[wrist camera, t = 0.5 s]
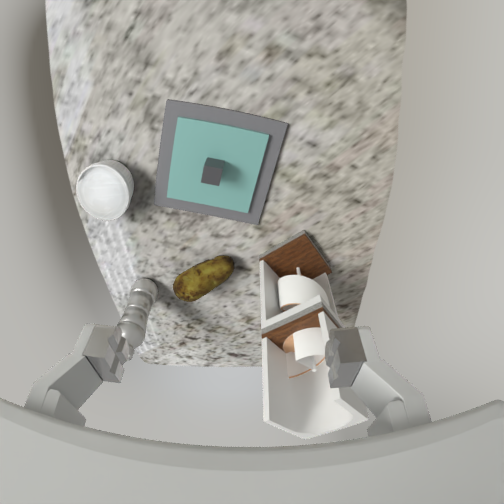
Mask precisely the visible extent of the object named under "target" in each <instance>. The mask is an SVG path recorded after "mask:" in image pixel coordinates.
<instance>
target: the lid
mask: <svg viewBox="0 0 504 504" xmlns="http://www.w3.org/2000/svg"><path fill="white" fill-rule="evenodd" d="M268 138H269V134H267V133H263V132H258V131H254V130H250V129H245V128H240V127H236V126H231V125H226V124H221V123H216V122H210V121H205V120H199V119H193V118H187V117H181V116H179V117H178V119H177V126H176V132H175V138H174V145H173V152H172V159H171V166H170V174H169V182H168V191H167V198H173V199H178V200H184V201H189V202H194V203H199V204H205V205H210V206H215V207H220V208H225V209H230V210H235V211H240V212H244V213H248V211H249V207H250V203H251V199H252V196H253V192H254V188H255V185H256V181H257V178H258V174H259V170H260V167H261V163H262V159H263V156H264V152H265V149H266V145H267V141H268Z"/></svg>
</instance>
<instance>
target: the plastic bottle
mask: <svg viewBox="0 0 504 504" xmlns="http://www.w3.org/2000/svg"><path fill="white" fill-rule="evenodd" d="M157 297H158V288H157V286H156V284H155V283H154V282H153V281H152V280H150V279H146V278H141V279H139V280H136V281H135V282H134V284H133V285H132V287H131V290H130V297H129V300H128V304H127V307H126V309H125V311H124V314H123V316H122V318H121V319H120V321H119V323H118V324H117V326H116V327H120V328H121V330H122V332H123V333H122V337H124V338H125V339H126V340H127V342H128V346H129V355H128V359H127V361H128V360H131V359H132V356H133V354H134V349H135V348H137V347H138V346H140V345H141V344H142V343H143V341H144V339H145V333H146V325H147V320H148V316H149V313H150V311H151V308H152V306H153V305H154V303H155V301H156V299H157Z"/></svg>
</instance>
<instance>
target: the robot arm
mask: <svg viewBox="0 0 504 504" xmlns="http://www.w3.org/2000/svg"><path fill="white" fill-rule="evenodd" d="M122 333H123V332H122V330H121V328H120V327H116V326H107V325H99V324H90V323H87V324H86V325H84V327H83V329H82V331H81V334H80V336H79V338H78V341H77V343H76V345H75V348H74V350H73V352H72V354H68V355H67V356H65V357H64V358H63V359H62V360H61V361H59V362H58V363H57V364H56V365H54V366H53V367H52V368H51V369H50V370H49V371H47V372H46V373H45V374H44V375H42V376H41V377H40V378H39V379H38V380H36V381H35V382H34V383H33V385H32V388H31V390H30V393H29V395H28V398H27V401H26V404H25V406H24V407H22V406H19V405H17V404H14V403H12V402H9V401H7V400H4V399H2V398H0V504H504V402H503V401H501V400H494V401H491V402H489V403H486V404H484V405H481V406H479V407H476V408H473V409H471V410H468V411H465V412H463V413H459V414H456V415H453V416H451V417H448V418H444V419H441V420H437V421H434V422H432V421H431V418H430V414H429V411H428V408H427V404H426V401H425V398H424V395H423V394H422V393H421V392H420V391H419V390H418V389H417V388H416V387H414V386H413V385H412V384H411V383H410V382H409V381H408V380H407V379H405V378H404V377H403V376H402V375H401V374H400V373H398V372H397V371H396V370H395V369H394V368H393V367H392V366H391V365H389V364H388V363H387V362H386V361H385V360H380V357H379V354H378V350H377V347H376V344H375V341H374V338H373V335H372V332H371V329H370V327H368V326H363V327H347V328H335V329H331V330H330V332H329V339H330V340H328V341H327V342H326V346H325V361H326V365H327V366H328V367H329V368H330V369H329V372H328V378H329V383H330V388H342V387H351V389H352V390H353V391H354V392H355V393H356V394H357V396H358V397H359V398H360V399H361V400H362V401H363V403H364V404H365V405H366V406H367V407H368V408H369V410H370V411H371V412H372V413H373V414H374V415H375V416H376V419H375V421H374V422H373V423H372V424H371V426H370V427H369V428H368V429H367V432H368V437H365V438H359V439H353V440H346V441H338V442H330V443H321V444H311V445H299V446H281V447H219V446H202V445H201V446H200V445H190V444H179V443H170V442H162V441H154V440H148V439H141V438H135V437H130V436H125V435H120V434H115V433H110V432H105V431H101V430H96V429H92V428H88V427H84V426H85V422H86V419H85V417H84V416H83V415H82V414H81V413H80V412H79V411H78V409H79V408H80V407H81V406H82V404H84V403H85V401H86V400H87V399H88V398H89V397H90V396H91V395H92V394H93V392H94V391H95V390H96V389H97V388H98V387H99V386H100V385H101V384H102V383H103V381H108V382H116V383H121V380H122V376H123V373H124V368H123V366H122V365H123V364H124V363H125V362H126V361H127V359H128V355H129V346H128V342H127V340H126V339H125V338H124V337H122Z"/></svg>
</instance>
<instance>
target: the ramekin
mask: <svg viewBox="0 0 504 504" xmlns="http://www.w3.org/2000/svg"><path fill="white" fill-rule="evenodd" d="M133 191H134V182H133V178H132V175H131V173H130V171H129V170H128V169H127V168H126V167H125V166H124V165H123V164H121V163H120V162H118V161H115V160H104V161H100V162H98V163H94V164H92V165H90V166H88V167H87V168H85V169H84V170H83V171H82V172H81V174H80V175H79V177H78V180H77V185H76V192H77V197H78V200H79V202H80V204H81V206H82V207H83V209H84V210H85V211H86V212H87V213H88V214H90V215H91V216H92V217H94V218H96V219H99V220H104V221H111V220H115V219H118V218H119V217H121V216H122V215H123V214H124V213H125V212H126V210H127V209H128V207H129V204H130V201H131V197H132V195H133Z"/></svg>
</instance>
